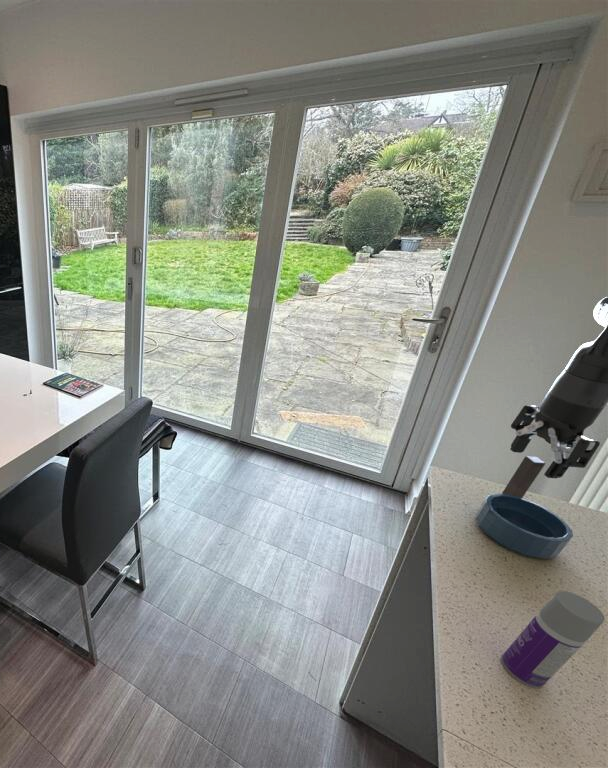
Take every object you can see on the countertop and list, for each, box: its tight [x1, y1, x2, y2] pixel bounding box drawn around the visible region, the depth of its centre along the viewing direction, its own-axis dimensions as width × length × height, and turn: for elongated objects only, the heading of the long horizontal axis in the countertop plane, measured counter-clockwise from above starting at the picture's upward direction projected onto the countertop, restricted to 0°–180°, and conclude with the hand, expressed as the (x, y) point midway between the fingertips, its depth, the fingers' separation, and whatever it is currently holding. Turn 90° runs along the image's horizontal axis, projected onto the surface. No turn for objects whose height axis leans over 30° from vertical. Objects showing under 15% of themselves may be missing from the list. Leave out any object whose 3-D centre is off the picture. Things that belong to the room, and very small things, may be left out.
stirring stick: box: [501, 455, 546, 498], centre depth 88 cm, size 2×2×13 cm
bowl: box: [475, 492, 574, 560], centre depth 82 cm, size 13×13×6 cm
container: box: [500, 590, 606, 689], centre depth 57 cm, size 5×5×15 cm
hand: (532, 463), depth 86 cm, fingers open, 8 cm apart
